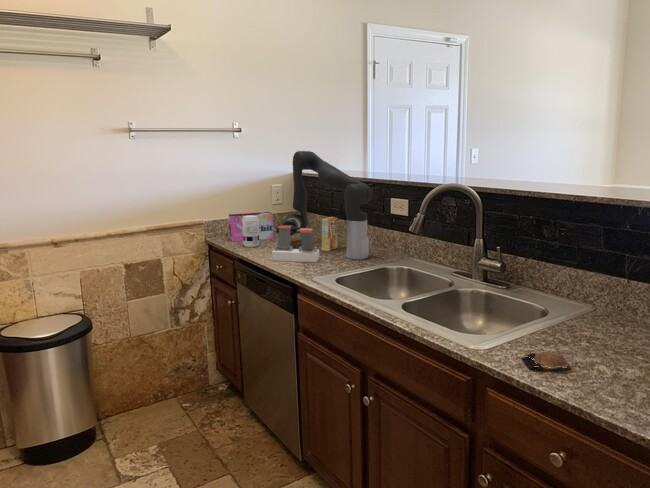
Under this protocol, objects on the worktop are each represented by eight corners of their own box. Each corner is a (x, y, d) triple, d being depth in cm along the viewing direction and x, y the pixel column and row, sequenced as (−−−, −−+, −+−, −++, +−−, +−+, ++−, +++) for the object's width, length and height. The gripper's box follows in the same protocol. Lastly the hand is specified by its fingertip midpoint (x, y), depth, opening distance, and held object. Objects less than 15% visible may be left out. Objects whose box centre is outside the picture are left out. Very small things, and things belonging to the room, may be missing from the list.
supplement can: (239, 246, 248) (238, 216, 245) (249, 243, 255) (248, 214, 252) (253, 248, 245) (252, 218, 241) (262, 245, 252) (261, 215, 249)
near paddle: (314, 249, 220) (312, 228, 215) (313, 251, 219) (311, 230, 213) (302, 249, 221) (300, 228, 215) (301, 251, 220) (300, 230, 214)
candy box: (330, 247, 247) (330, 216, 244) (337, 247, 245) (337, 217, 242) (321, 250, 239) (321, 219, 236) (328, 251, 237) (328, 219, 234)
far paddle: (289, 250, 222) (290, 226, 223) (288, 249, 220) (290, 225, 221) (278, 250, 222) (279, 226, 224) (277, 249, 221) (278, 225, 222)
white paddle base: (319, 258, 223) (319, 245, 222) (316, 262, 217) (316, 249, 215) (275, 257, 226) (275, 244, 225) (272, 260, 219) (271, 247, 218)
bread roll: (561, 360, 123) (562, 346, 122) (577, 375, 115) (579, 360, 114) (518, 359, 123) (519, 345, 122) (531, 375, 115) (532, 360, 114)
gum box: (230, 242, 259) (229, 216, 256) (227, 239, 266) (225, 214, 263) (274, 238, 268) (273, 213, 265) (270, 236, 275) (269, 211, 272)
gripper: (277, 218, 241) (268, 224, 224) (304, 219, 239) (297, 225, 222) (278, 233, 242) (269, 241, 226) (304, 234, 241) (297, 241, 224)
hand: (283, 233), depth 224 cm, fingers closed
